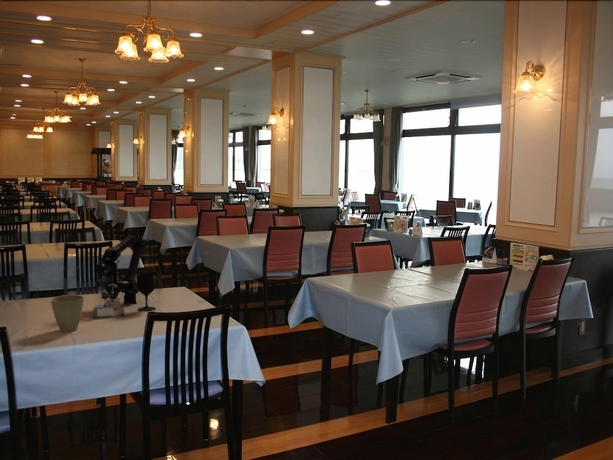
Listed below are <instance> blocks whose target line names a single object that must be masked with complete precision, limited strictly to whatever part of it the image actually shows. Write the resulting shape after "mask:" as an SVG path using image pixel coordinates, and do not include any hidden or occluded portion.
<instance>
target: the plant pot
mask: <svg viewBox="0 0 613 460" xmlns="http://www.w3.org/2000/svg"><path fill="white" fill-rule="evenodd" d="M84 299H85V296H83V295H79V294H65V295H64V294H63V295H58V296H55V297H52V298H51V299H50V303H51V307H52V308H51V309H52V313H53V315H54V318H55V321H56V324H57V326H58V328H59V330H60V332H63V333H70V332H76V330H78V327H79V324H80V320H81V317H82V313H83V308H84V302H85V301H84Z"/></svg>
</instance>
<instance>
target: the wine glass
mask: <svg viewBox="0 0 613 460" xmlns="http://www.w3.org/2000/svg"><path fill="white" fill-rule="evenodd" d="M155 276H156V275H155V274H154V273H149V272H148V273H144V272H143V273H140V274H138V275H137V277H136V286H137V288H138V290H139V293H141V294H142V295H144V297H145V306H141V307H138V308H137V309H136V311H138V312H141V311H145V313H147V312H148V311H149V312H153V311H152V310H154V311H156V310H157V307H155V306H149V304H148V297H149V295H150V294H151V293H153V292H154V290H156V289H155V288H156V285H157V284H156V283H157V282H156V281H157V280H156V277H155ZM155 309H156V310H155ZM146 311H147V312H146Z"/></svg>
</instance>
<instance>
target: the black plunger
mask: <svg viewBox="0 0 613 460" xmlns="http://www.w3.org/2000/svg"><path fill="white" fill-rule="evenodd" d="M100 298H101V299H102V300H103V305H104V307H106V299H109V295H108V292H106V291H102V292H101V297H100Z"/></svg>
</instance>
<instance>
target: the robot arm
mask: <svg viewBox="0 0 613 460" xmlns="http://www.w3.org/2000/svg"><path fill="white" fill-rule="evenodd" d="M130 246H131V252H132V253H131V257H130V261H129V265H128V268H127V272H126V275H125V276H123V277H122V278H121V280H120V279H118V278H119V277H118V275H120V272H119V271H118V263H120V260H119V258H120V257H121V254H122V252H124V251H125V250H126V249H127V248H129V247H130ZM147 246H148V243H147V240H146V239H144V238H143V239H142V238H139V237H137V236H133V235H128V236H126V238H124V239H123V240H121V241H120V242H119V243H117V244H116V245H114V246H111V247H109V248H106V249H105V250H104V253H103V255H102V257H101V259H100V261H97V264H96V265H95V272H96V274H98V275H102V274H104V277H102V278H101V279H97V280H96V281H95V286H98V287H99V286H100V287H101V288H103V289H104V290H105V292H108V295H109V293H114V297H115V299H116V298H118V296H119V294H120V292H121V293H123V303H124V305H131V304H132V305H133V304H137V294H139V293H140V291H139V290H138V288H137V278H136V276H137V270H138V267H139V263H140V259H141V255H143V253H144V252H145V251H146V250H147V249H146V248H147ZM112 290H113V292H112Z"/></svg>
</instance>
